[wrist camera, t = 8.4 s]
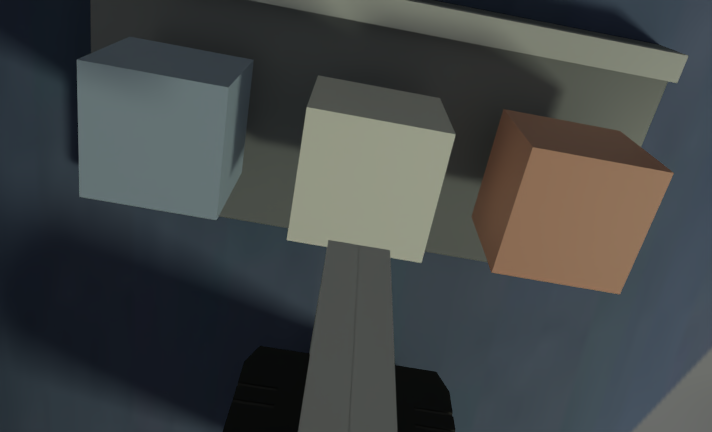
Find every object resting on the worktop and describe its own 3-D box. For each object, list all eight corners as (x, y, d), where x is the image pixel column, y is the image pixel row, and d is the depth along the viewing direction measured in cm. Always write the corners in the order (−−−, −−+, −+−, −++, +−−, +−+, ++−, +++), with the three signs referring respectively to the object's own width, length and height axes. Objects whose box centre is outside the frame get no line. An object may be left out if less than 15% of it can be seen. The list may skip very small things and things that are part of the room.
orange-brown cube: (471, 217, 28) (491, 272, 23) (503, 108, 25) (532, 146, 21) (579, 235, 28) (619, 294, 23) (620, 130, 26) (673, 173, 21)
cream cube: (300, 188, 27) (286, 240, 22) (318, 75, 25) (306, 106, 20) (412, 208, 27) (421, 263, 23) (440, 97, 25) (455, 134, 20)
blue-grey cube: (127, 152, 27) (79, 196, 22) (130, 36, 25) (76, 59, 20) (241, 172, 27) (216, 220, 23) (253, 59, 25) (228, 87, 21)
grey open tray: (108, 179, 32) (54, 230, 26) (108, -64, 27) (42, -64, 21) (574, 260, 33) (614, 323, 28) (659, 44, 28) (729, 71, 23)
